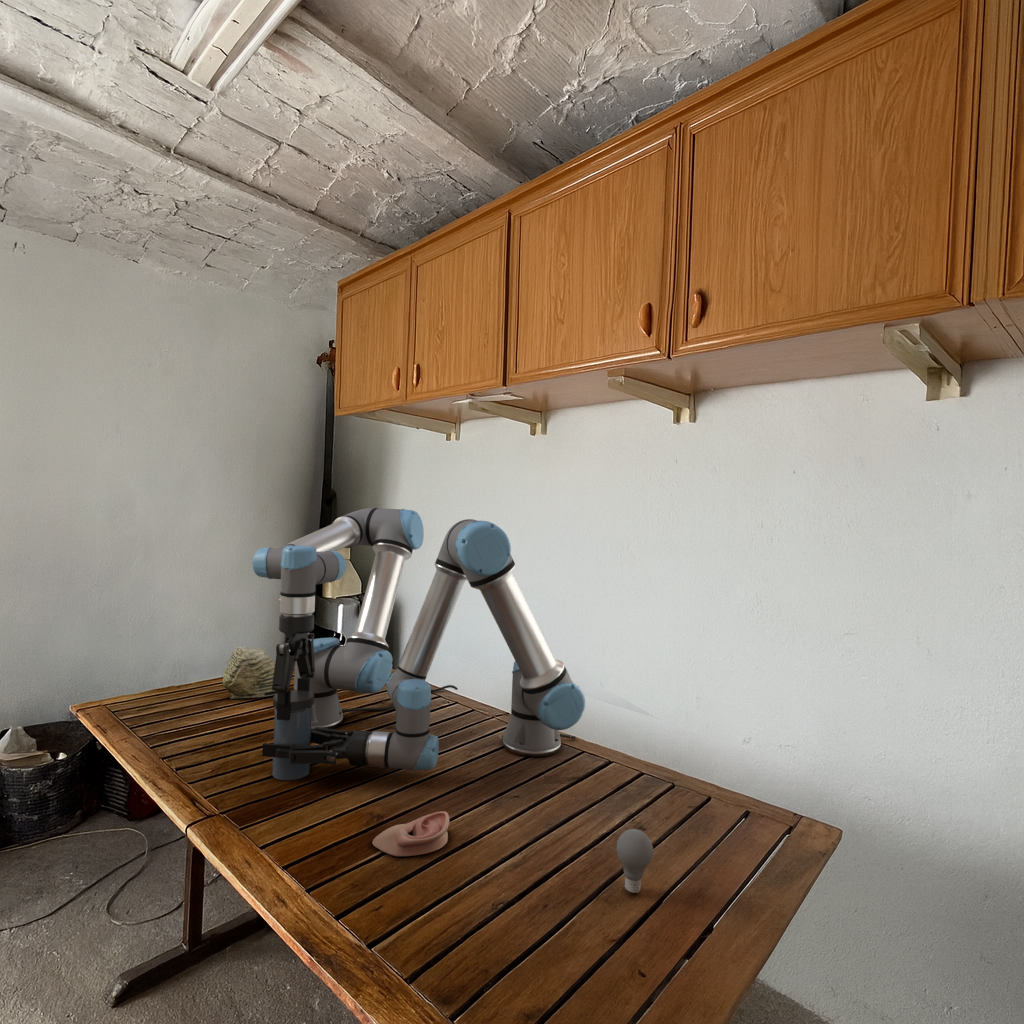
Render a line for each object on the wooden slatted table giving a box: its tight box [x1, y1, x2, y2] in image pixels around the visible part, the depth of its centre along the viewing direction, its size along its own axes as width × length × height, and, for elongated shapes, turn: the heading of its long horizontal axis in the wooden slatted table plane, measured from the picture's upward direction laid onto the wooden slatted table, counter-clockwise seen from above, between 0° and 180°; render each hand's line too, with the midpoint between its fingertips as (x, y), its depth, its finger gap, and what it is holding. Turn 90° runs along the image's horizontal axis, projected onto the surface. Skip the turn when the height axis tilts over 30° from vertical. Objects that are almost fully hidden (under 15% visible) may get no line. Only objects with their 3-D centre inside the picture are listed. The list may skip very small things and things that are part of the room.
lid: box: [272, 689, 314, 711], centre depth 144 cm, size 9×9×2 cm
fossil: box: [222, 646, 278, 699], centre depth 198 cm, size 9×18×15 cm, turn 132°
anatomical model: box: [372, 810, 450, 857], centre depth 118 cm, size 13×4×12 cm
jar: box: [271, 706, 312, 781], centre depth 144 cm, size 8×8×17 cm
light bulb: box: [615, 828, 654, 894], centre depth 106 cm, size 6×6×10 cm
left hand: (293, 712), depth 144 cm, fingers closed on lid, 9 cm apart
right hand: (271, 742), depth 145 cm, fingers closed on jar, 8 cm apart
